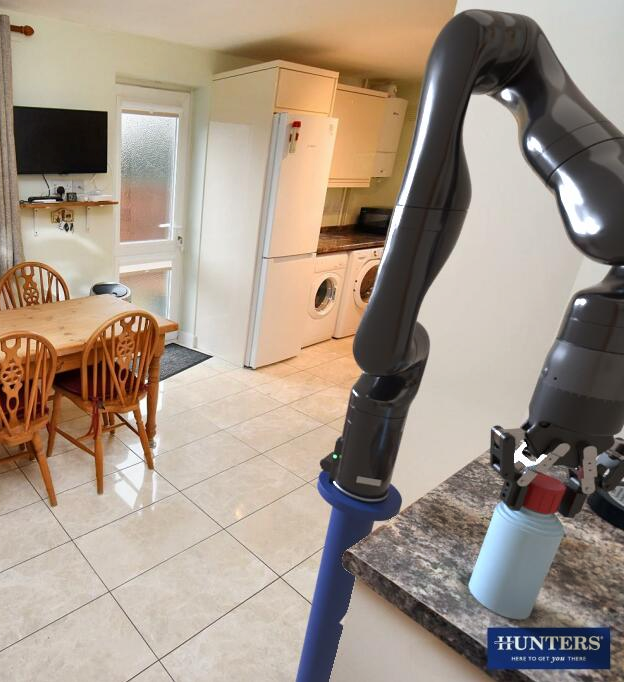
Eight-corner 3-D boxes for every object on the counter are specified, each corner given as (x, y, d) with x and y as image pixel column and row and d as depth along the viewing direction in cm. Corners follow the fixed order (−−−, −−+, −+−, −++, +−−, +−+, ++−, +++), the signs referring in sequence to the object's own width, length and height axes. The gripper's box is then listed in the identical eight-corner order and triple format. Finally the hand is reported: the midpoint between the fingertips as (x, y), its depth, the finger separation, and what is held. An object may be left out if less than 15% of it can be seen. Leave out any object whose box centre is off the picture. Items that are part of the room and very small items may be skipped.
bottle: (462, 595, 60) (502, 482, 54) (475, 570, 64) (513, 463, 58) (525, 629, 55) (576, 510, 49) (534, 600, 59) (582, 487, 53)
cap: (554, 518, 52) (563, 495, 51) (511, 501, 55) (519, 479, 54) (559, 504, 54) (568, 482, 53) (517, 489, 57) (525, 467, 56)
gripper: (534, 390, 47) (488, 522, 52) (700, 404, 44) (633, 541, 50) (491, 365, 54) (454, 483, 59) (632, 375, 51) (580, 498, 57)
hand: (536, 509), depth 54 cm, fingers open, 5 cm apart
